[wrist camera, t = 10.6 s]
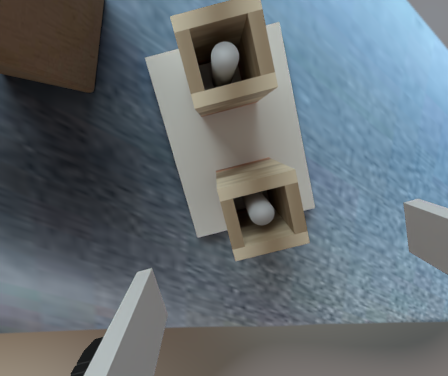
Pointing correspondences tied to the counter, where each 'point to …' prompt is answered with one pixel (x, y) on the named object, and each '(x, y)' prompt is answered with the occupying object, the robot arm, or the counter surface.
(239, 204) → the pin board
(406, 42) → the counter surface
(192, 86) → the sleeve seated
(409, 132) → the counter surface
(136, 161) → the counter surface
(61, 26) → the wooden block
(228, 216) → the sleeve
